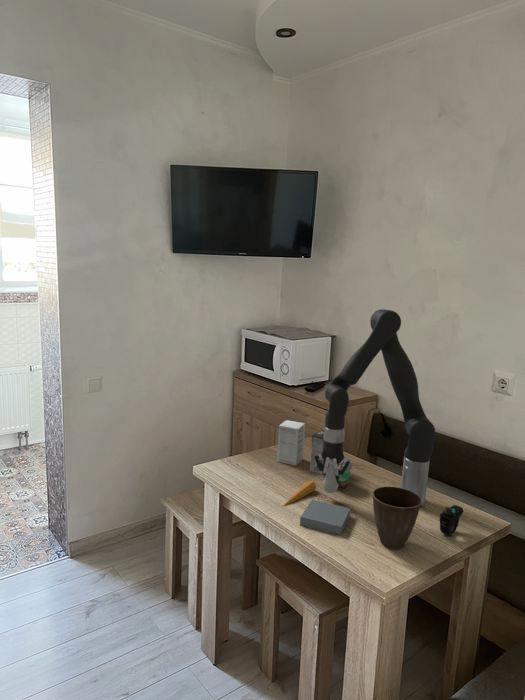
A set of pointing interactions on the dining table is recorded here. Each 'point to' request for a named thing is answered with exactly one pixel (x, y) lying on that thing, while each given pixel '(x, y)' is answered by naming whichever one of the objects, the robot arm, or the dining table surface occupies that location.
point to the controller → (450, 519)
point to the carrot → (302, 492)
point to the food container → (344, 475)
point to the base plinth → (325, 517)
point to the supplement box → (291, 442)
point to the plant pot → (395, 515)
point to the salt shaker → (330, 478)
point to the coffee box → (317, 451)
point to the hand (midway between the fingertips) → (330, 482)
